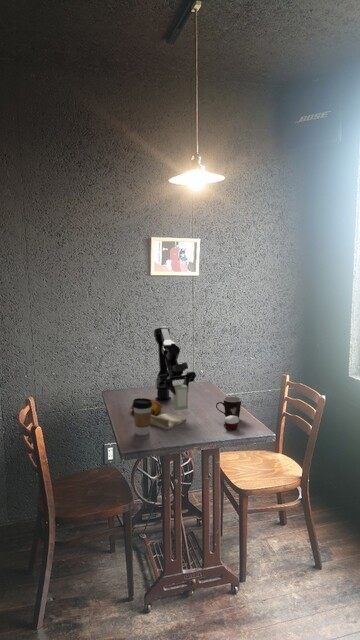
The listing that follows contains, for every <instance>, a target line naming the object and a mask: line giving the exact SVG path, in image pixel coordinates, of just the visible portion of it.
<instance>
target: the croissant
mask: <svg viewBox="0 0 360 640" xmlns="http://www.w3.org/2000/svg"><path fill="white" fill-rule="evenodd" d="M143 398H144V399H147V398H145V397H143ZM149 399H150V400H151V402H152V407H151V415H154V416H156V415H157V416H158V414H160V413H161V412H162V408H163V406H162V404H161V403H160V402H159V401H157V400H155V399H151V398H149ZM130 409H131V410H132V412H134V407H133V403H132V405H131V407H130Z"/></svg>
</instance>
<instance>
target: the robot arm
mask: <svg viewBox="0 0 360 640" xmlns="http://www.w3.org/2000/svg"><path fill="white" fill-rule="evenodd" d="M170 331H171V330H170V328H169V327H168V326H160V327H158V328H155V329H154V330H153V337H154V340H155V342H156V343H157V348H158V366H159V371H158V373H157V375H156V379H155V385H154V388H155V389H156V390H157V393H156V394H157V396H156V397H155V399H156V400H160V401H164V402H165V401H167V400H170V399H172V397H171V396H170V392H171V393H172V395H173V394H174V395H176V392H175V389H174V386H175V385H174V384H173V381H179V380H183V382H182V385H186V386H188V388H190V387H189V384H190V383H193V382H194V381H195V379H196V377H197V373H196V372H195V371H187V372H186V373H185V374H184V372H185V371H186V370H188V369H189V365H188V362H182V363H179V362H178V359H179V355H180V352H181V348H180V347H179V346H178V345H177V344H176V342H175V341H173V340H172V338H171V332H170ZM183 374H184V375H183Z"/></svg>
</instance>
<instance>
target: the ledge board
mask: <svg viewBox="0 0 360 640" xmlns="http://www.w3.org/2000/svg"><path fill="white" fill-rule="evenodd" d="M185 422H187V418H185V417H183V416H178V415H174V414H171V413H167V412H165V413H163V414H160V415H157V416H156V415H155V416H154V415H151V420H150V425H153V426H154V427H155V426H156V427H159V428H162V429H165V430H169V429H171V428H173V427H175V426H178V425H180V424H182V423H185Z"/></svg>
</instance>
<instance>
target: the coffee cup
mask: <svg viewBox="0 0 360 640" xmlns="http://www.w3.org/2000/svg"><path fill="white" fill-rule="evenodd" d="M144 398H145V397H143V398H140V397H138V398H134V399H133V401H132V404H133V407H134V411H133V416H134V418H133V419H134V424H135V434H136V435H138V436H147V435H150V432H151V429H150V428H151V424H150V420H151V407H152V402H151V400H152V399H151V398H146V399H144ZM150 399H151V400H150Z"/></svg>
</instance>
